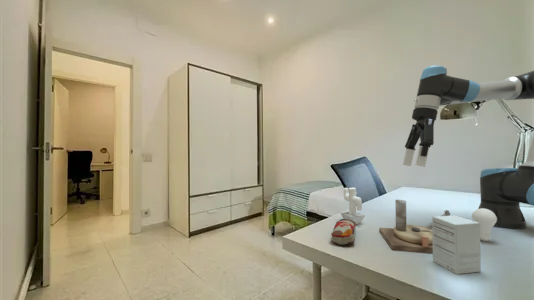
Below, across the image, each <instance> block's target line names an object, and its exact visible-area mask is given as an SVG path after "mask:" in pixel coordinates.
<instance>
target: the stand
mask: <svg viewBox="0 0 534 300" xmlns="http://www.w3.org/2000/svg"><path fill="white" fill-rule="evenodd" d="M378 231H379V233H380V234H381V236H382V237H383V239H384V240H385V242H386V243H387V244H388V246H389V248H391V250H392V251H400V252H409V253H410V252H412V253H423V254H433V244H428V247H423V246H422V244H417V243H412V242H408V241H405V240H402V239H399V238H398V237H396V236H395V235H394V227H393V228H391V227H388V228H387V227H379V228H378Z"/></svg>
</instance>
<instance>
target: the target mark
mask: <svg viewBox="0 0 534 300" xmlns="http://www.w3.org/2000/svg"><path fill="white" fill-rule="evenodd" d="M422 246H423V247H428V237H427V236H422Z"/></svg>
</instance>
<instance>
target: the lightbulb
mask: <svg viewBox="0 0 534 300" xmlns="http://www.w3.org/2000/svg"><path fill="white" fill-rule="evenodd" d="M471 216H472V221H475V222H478V223H480V240H482V241H483V242H487V241H490V238H491V234H492V229H493V227H495V226H494V225H495V223H496V222H497V217H496V215H495V214H494V213H493V212H492V211H490V210H488V209H484V208H480V209H478V208H477V209H475V210H474V211H473V212H472V215H471Z"/></svg>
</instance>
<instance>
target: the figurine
mask: <svg viewBox="0 0 534 300" xmlns="http://www.w3.org/2000/svg"><path fill="white" fill-rule="evenodd" d="M357 193H358V192H357V188H356V187H349V188H348V187H344V188H343V198H344V200H345V201H347V202H348V211H347V212H340V215H341V217H342V219H349V220H353V221H354V222H355V223H356V224H355V225H360V224H361V223H362V222H363V220H364V218H365V217H366V215H365V214H363V213H359V212H357V211H362V209H363V200H362V198H361V197H360V196H357Z"/></svg>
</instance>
